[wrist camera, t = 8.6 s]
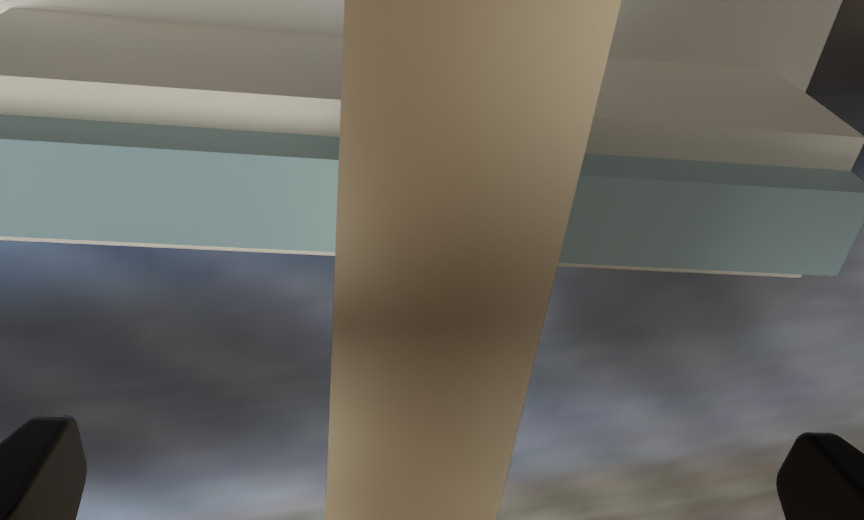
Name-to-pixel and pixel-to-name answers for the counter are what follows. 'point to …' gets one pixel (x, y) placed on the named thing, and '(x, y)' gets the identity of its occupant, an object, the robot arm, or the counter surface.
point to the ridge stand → (320, 131)
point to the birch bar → (449, 239)
